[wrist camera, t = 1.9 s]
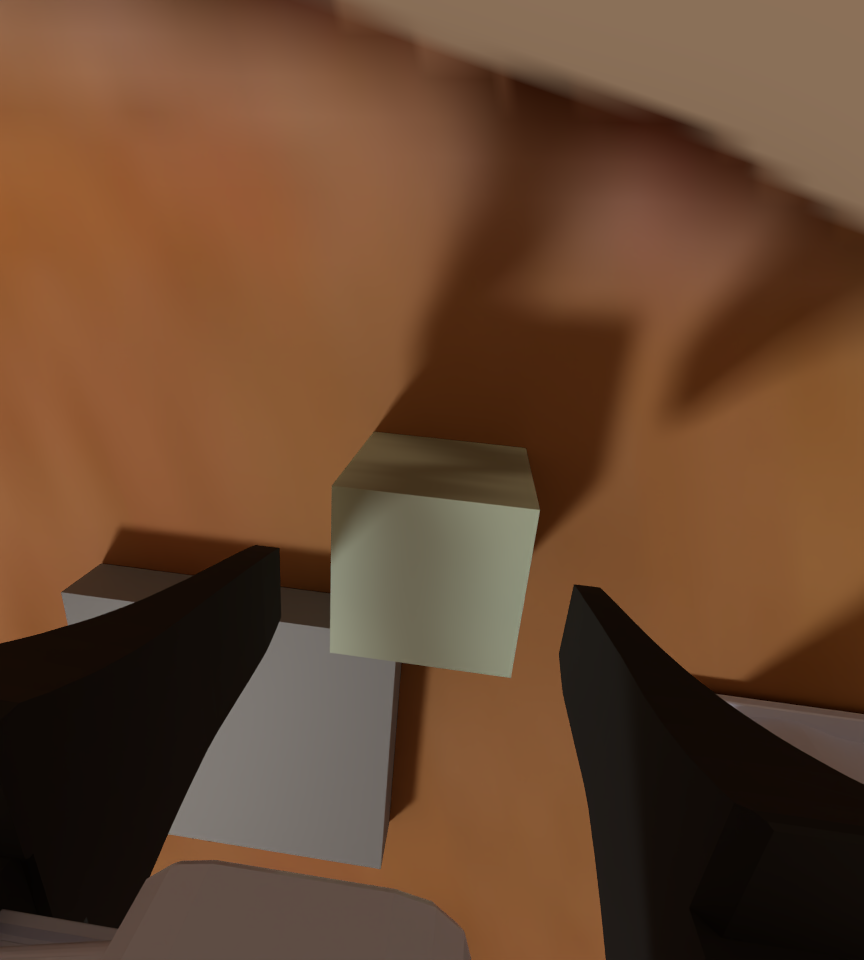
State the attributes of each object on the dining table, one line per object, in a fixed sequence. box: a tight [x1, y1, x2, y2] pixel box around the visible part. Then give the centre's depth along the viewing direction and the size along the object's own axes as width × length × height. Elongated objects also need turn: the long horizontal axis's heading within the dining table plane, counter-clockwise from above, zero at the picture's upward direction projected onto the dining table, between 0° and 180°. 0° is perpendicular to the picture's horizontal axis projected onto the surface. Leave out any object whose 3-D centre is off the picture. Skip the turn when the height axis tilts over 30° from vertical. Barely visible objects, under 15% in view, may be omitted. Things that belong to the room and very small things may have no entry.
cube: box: [330, 432, 540, 678], centre depth 15 cm, size 5×5×5 cm
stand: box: [61, 564, 401, 869], centre depth 21 cm, size 12×12×2 cm
